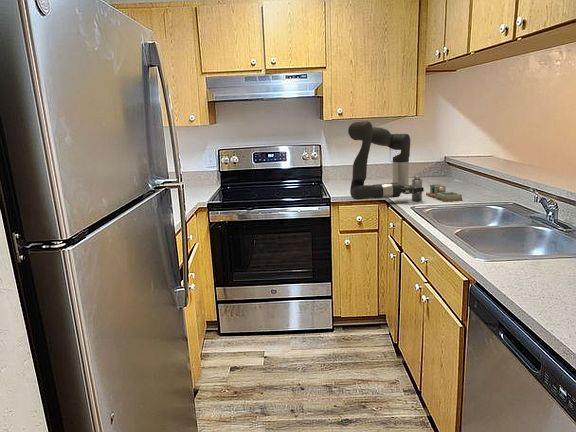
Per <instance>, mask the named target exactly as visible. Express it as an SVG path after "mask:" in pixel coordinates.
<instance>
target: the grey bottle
mask: <svg viewBox="0 0 576 432" xmlns="http://www.w3.org/2000/svg"><path fill="white" fill-rule="evenodd" d="M411 185H412V187H413V188H415V187H416V188H419V187H423V179H422V178H421V175H414V176H413V179H412V180H411ZM412 191H414V190H412ZM422 201H423V192H417V193H416V194H415V193H414V194H411V202H413V203H415V202H416V203H420V202H422Z"/></svg>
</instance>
